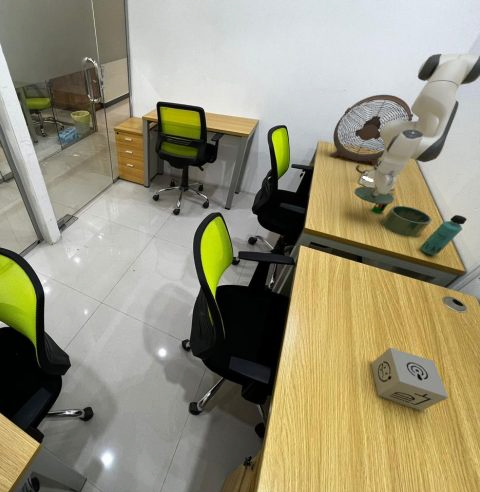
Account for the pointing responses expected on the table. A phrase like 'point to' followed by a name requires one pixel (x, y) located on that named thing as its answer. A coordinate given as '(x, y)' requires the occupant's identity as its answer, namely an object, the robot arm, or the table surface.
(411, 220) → the pot
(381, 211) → the soda can
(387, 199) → the lid
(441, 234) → the beverage bottle
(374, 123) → the fan
